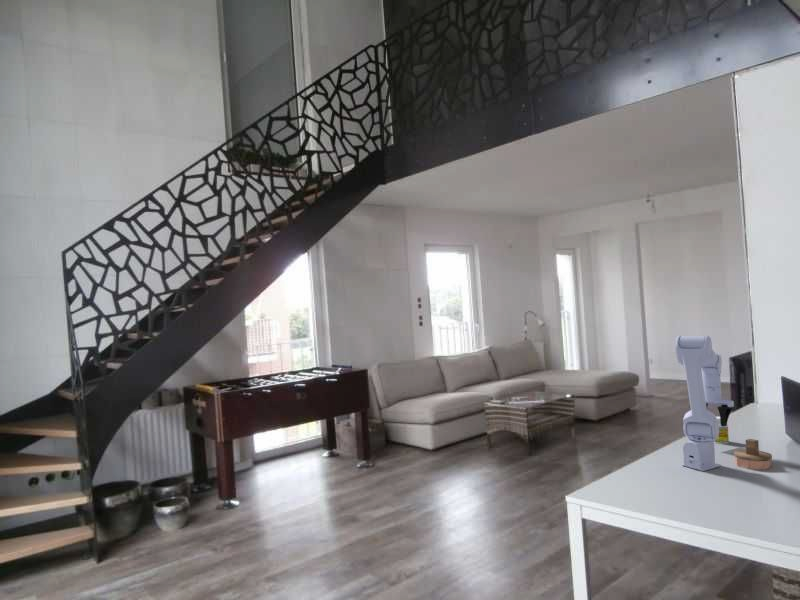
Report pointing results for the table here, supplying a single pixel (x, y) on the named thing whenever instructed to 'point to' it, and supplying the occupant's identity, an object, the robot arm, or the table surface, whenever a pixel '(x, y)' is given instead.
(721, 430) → the supplement bottle
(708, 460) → the robot arm
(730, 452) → the mat
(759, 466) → the bowl
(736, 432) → the table surface
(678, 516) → the table surface
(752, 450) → the lid
